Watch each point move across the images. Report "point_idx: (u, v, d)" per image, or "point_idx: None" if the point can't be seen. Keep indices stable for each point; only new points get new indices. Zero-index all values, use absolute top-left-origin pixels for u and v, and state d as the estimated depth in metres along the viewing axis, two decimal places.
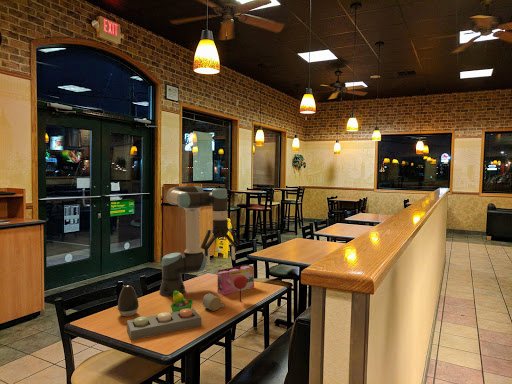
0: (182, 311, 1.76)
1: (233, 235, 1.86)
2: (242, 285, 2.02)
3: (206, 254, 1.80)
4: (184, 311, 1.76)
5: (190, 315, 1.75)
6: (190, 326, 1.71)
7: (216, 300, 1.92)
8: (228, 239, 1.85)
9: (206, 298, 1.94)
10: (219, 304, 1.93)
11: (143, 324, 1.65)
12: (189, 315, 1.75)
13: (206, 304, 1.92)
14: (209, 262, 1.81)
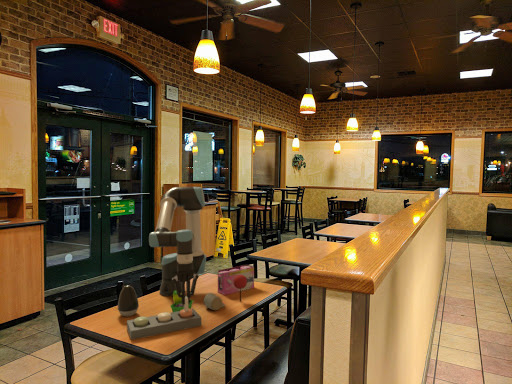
0: (182, 311, 1.76)
1: (194, 282, 1.77)
2: (242, 285, 2.02)
3: (183, 302, 1.75)
4: (184, 311, 1.76)
5: (190, 315, 1.75)
6: (190, 326, 1.71)
7: (217, 300, 1.92)
8: (187, 285, 1.76)
9: (207, 298, 1.94)
10: (220, 304, 1.94)
11: (143, 324, 1.65)
12: (189, 315, 1.75)
13: (207, 304, 1.93)
14: (186, 310, 1.75)
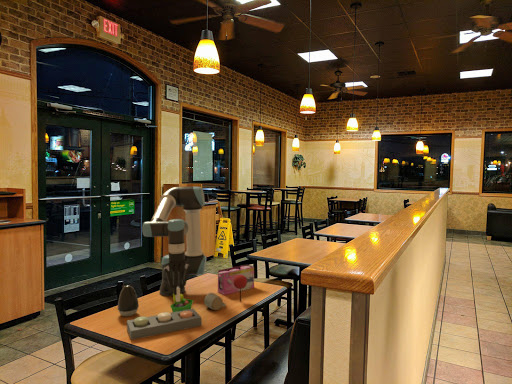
0: (182, 313, 1.76)
1: (185, 272, 1.75)
2: (242, 285, 2.02)
3: (175, 293, 1.73)
4: (184, 313, 1.76)
5: None
6: (190, 326, 1.71)
7: (218, 300, 1.92)
8: (179, 275, 1.74)
9: (208, 297, 1.95)
10: (221, 304, 1.94)
11: (143, 324, 1.65)
12: None
13: (208, 303, 1.93)
14: (178, 301, 1.73)
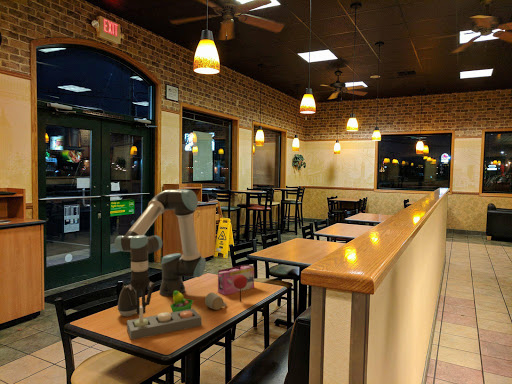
0: (182, 313, 1.76)
1: (149, 291, 1.67)
2: (242, 285, 2.02)
3: (138, 312, 1.66)
4: (184, 313, 1.76)
5: None
6: (190, 326, 1.71)
7: (218, 299, 1.93)
8: (142, 294, 1.66)
9: (208, 297, 1.95)
10: (221, 303, 1.94)
11: None
12: None
13: (208, 303, 1.93)
14: (141, 321, 1.66)
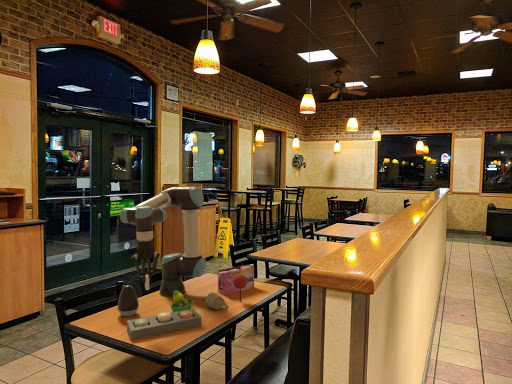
0: (182, 313, 1.76)
1: (155, 260, 1.72)
2: (242, 285, 2.02)
3: (144, 281, 1.71)
4: (184, 313, 1.76)
5: None
6: (190, 326, 1.71)
7: (219, 299, 1.93)
8: (147, 263, 1.71)
9: (209, 297, 1.95)
10: (222, 303, 1.94)
11: None
12: None
13: (209, 303, 1.94)
14: (147, 289, 1.71)
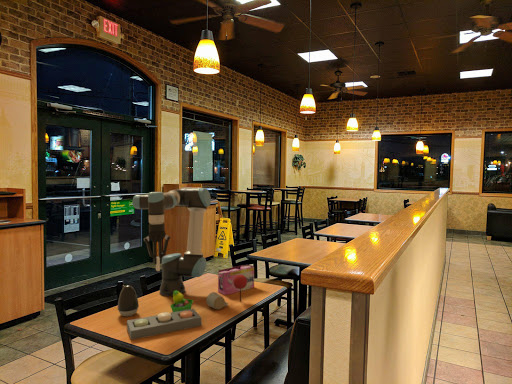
0: (182, 313, 1.76)
1: (165, 243, 1.82)
2: (242, 285, 2.02)
3: (155, 262, 1.80)
4: (184, 313, 1.76)
5: None
6: (190, 326, 1.71)
7: (220, 299, 1.93)
8: (159, 246, 1.81)
9: (210, 297, 1.95)
10: (223, 303, 1.95)
11: None
12: None
13: (210, 303, 1.94)
14: (158, 270, 1.81)
